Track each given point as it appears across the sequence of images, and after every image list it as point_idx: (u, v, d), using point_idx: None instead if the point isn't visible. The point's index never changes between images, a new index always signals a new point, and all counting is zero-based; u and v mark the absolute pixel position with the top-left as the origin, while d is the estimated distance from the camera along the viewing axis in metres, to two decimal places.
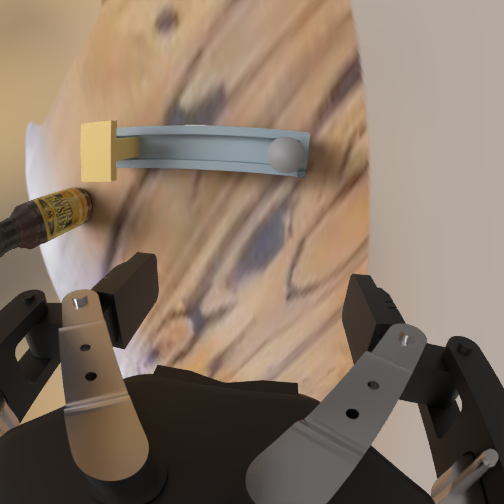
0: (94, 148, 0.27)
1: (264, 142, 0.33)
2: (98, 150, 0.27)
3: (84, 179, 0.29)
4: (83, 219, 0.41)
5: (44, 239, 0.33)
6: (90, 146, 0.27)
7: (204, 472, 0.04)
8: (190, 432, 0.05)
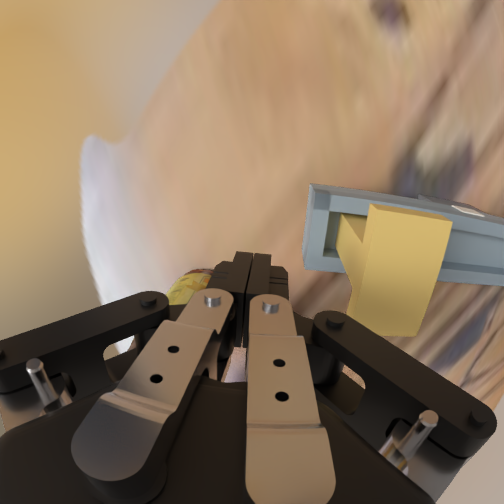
0: (402, 273, 0.13)
1: None
2: (410, 279, 0.13)
3: None
4: None
5: None
6: (393, 268, 0.13)
7: (204, 472, 0.04)
8: (190, 432, 0.05)
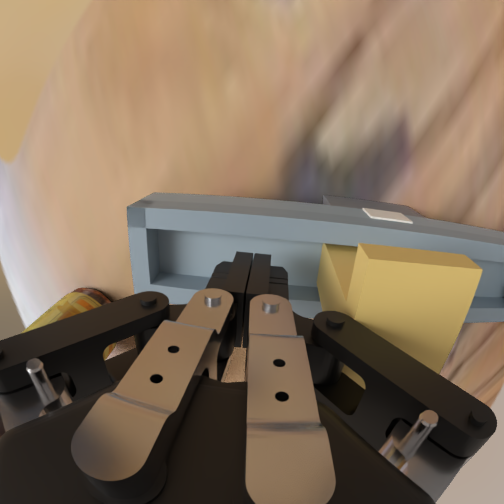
0: (402, 346, 0.08)
1: (495, 262, 0.14)
2: (414, 352, 0.08)
3: None
4: (111, 351, 0.22)
5: None
6: (390, 340, 0.08)
7: (204, 472, 0.04)
8: (190, 432, 0.05)
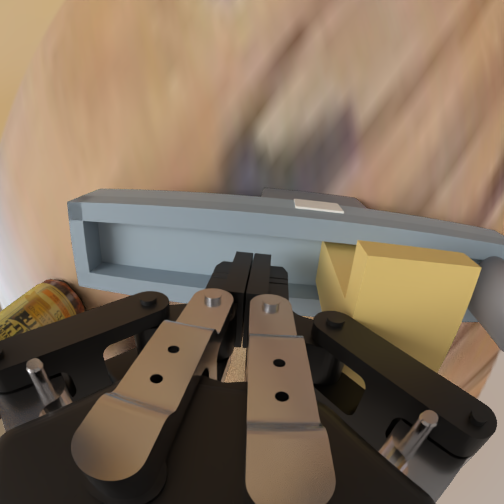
0: (401, 344, 0.08)
1: None
2: (413, 349, 0.08)
3: None
4: None
5: None
6: (388, 337, 0.08)
7: (204, 472, 0.04)
8: (190, 432, 0.05)
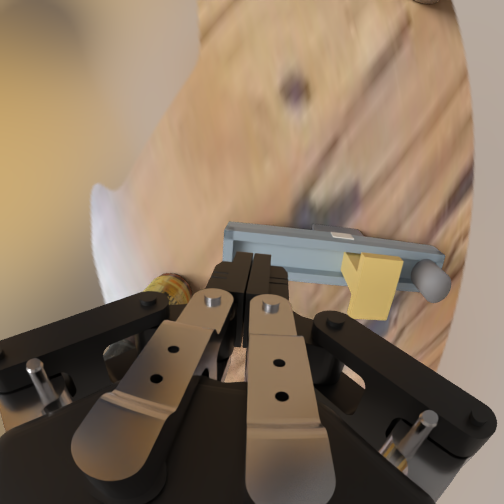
0: (376, 287, 0.27)
1: (404, 259, 0.33)
2: (381, 289, 0.27)
3: (354, 316, 0.28)
4: None
5: None
6: (372, 284, 0.27)
7: (204, 472, 0.04)
8: (190, 432, 0.05)
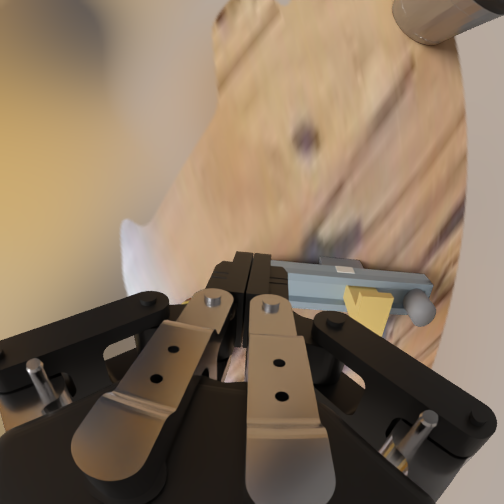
0: (371, 318, 0.33)
1: None
2: (375, 320, 0.33)
3: None
4: None
5: None
6: (367, 316, 0.33)
7: (204, 472, 0.04)
8: (190, 432, 0.05)
